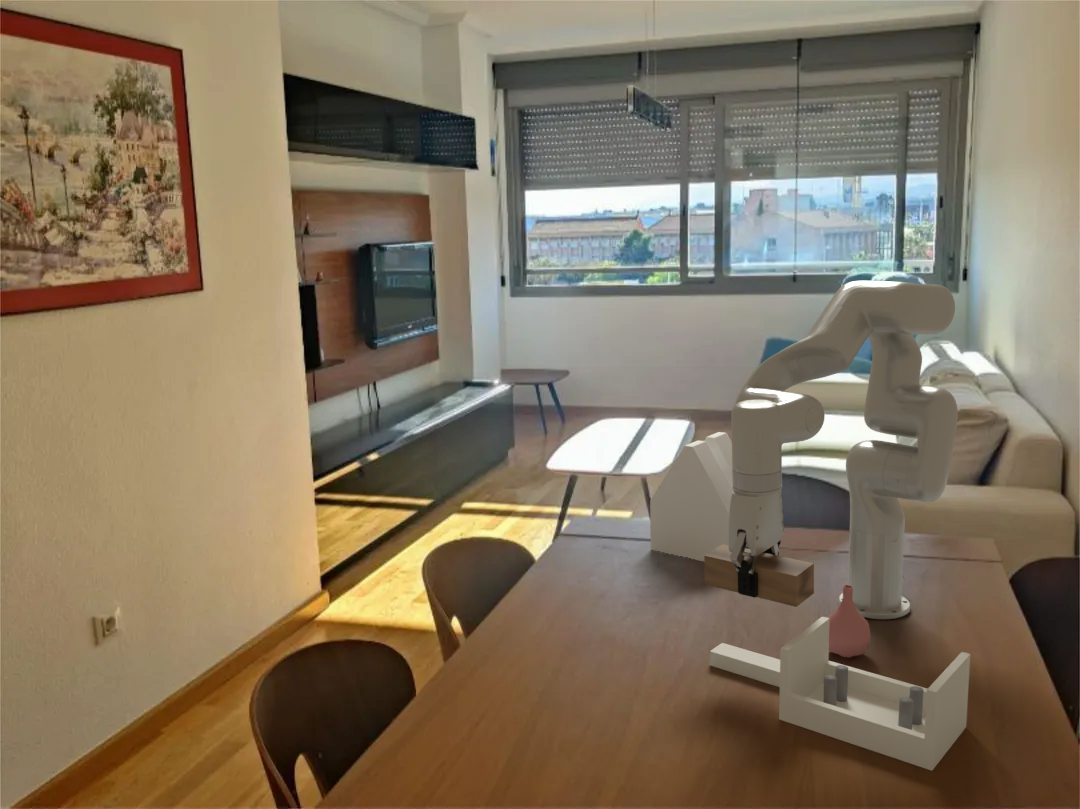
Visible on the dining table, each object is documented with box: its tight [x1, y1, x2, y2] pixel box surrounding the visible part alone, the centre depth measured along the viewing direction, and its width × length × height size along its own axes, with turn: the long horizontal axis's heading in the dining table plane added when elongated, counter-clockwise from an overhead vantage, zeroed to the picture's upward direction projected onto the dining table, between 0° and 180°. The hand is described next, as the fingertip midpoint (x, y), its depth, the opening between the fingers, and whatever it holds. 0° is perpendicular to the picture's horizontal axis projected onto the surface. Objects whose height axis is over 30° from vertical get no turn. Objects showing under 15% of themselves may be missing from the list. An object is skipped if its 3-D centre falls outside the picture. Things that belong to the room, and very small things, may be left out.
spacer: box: [709, 642, 780, 688], centre depth 157 cm, size 4×14×2 cm, turn 50°
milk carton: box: [649, 431, 751, 562], centre depth 213 cm, size 19×15×25 cm
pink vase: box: [826, 584, 872, 658], centre depth 161 cm, size 8×8×12 cm
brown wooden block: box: [704, 544, 815, 608], centre depth 154 cm, size 6×16×5 cm, turn 49°
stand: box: [778, 616, 971, 771], centre depth 139 cm, size 14×22×11 cm, turn 50°
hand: (758, 586), depth 155 cm, fingers closed on brown wooden block, 6 cm apart
